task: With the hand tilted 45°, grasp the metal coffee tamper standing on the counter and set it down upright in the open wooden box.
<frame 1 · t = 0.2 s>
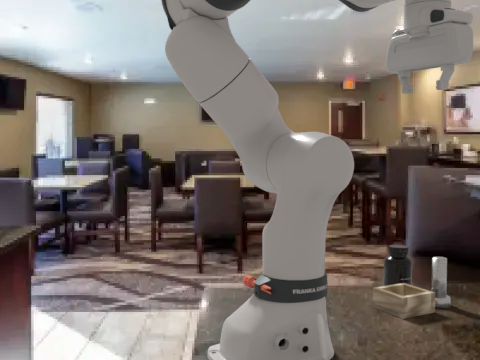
hand: (423, 91, 104), 48 cm above the countertop, tool pointing down, fingers open, 8 cm apart
open wooden box: (403, 309, 116), on the countertop
metal coffee tamper: (438, 304, 120), on the countertop
supplement bottle: (397, 294, 130), on the countertop
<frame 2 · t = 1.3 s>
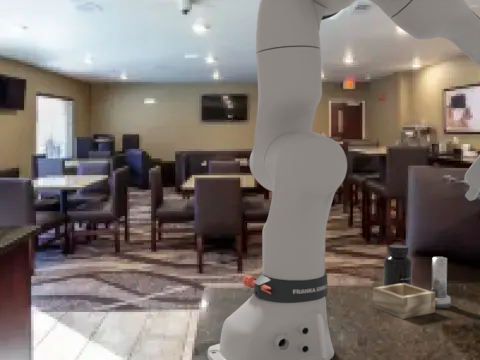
nothing on the countertop moved.
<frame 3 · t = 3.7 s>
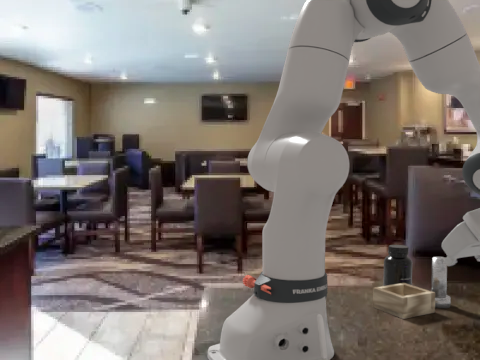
hand: (463, 260, 114), 11 cm above the countertop, tool tilted 45°, fingers open, 8 cm apart
nothing on the countertop moved.
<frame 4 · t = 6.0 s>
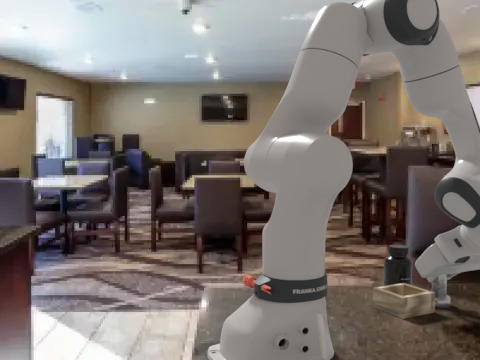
hand: (437, 278, 120), 6 cm above the countertop, tool tilted 45°, fingers closed on metal coffee tamper, 3 cm apart
metal coffee tamper: (438, 304, 120), on the countertop, touching gripper
everything else where it was.
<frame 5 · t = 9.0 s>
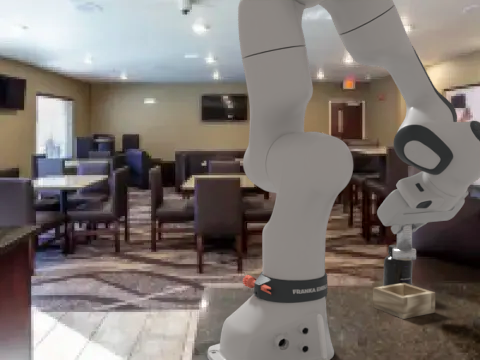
hand: (402, 230, 116), 18 cm above the countertop, tool tilted 45°, fingers closed on metal coffee tamper, 3 cm apart
metal coffee tamper: (404, 258, 116), point 12 cm above the countertop, touching gripper
everything else where it was.
when the fingers open (8 cm above the countertop, at t = 11.8 s): metal coffee tamper stays where it is, resting on open wooden box.
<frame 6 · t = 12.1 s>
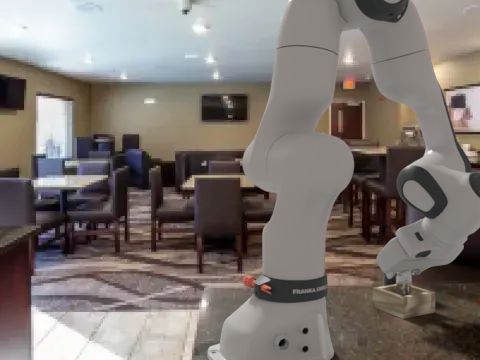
hand: (401, 274, 117), 8 cm above the countertop, tool tilted 45°, fingers open, 6 cm apart
metal coffee tamper: (403, 305, 116), point 1 cm above the countertop, touching open wooden box
everything else where it was.
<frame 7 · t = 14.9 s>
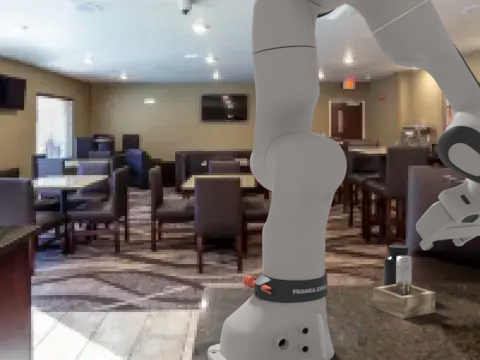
hand: (440, 245, 106), 16 cm above the countertop, tool tilted 45°, fingers open, 8 cm apart
nothing on the countertop moved.
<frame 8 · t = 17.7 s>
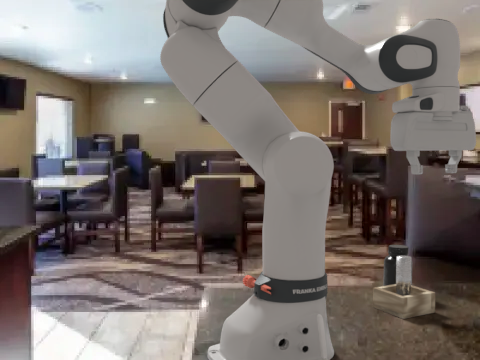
hand: (434, 173, 104), 31 cm above the countertop, tool pointing down, fingers open, 8 cm apart
nothing on the countertop moved.
at the end: metal coffee tamper 0.0 cm off-centre on the open wooden box, point 1.0 cm above the open wooden box's base; metal coffee tamper tilted 0°; the gripper is holding nothing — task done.
